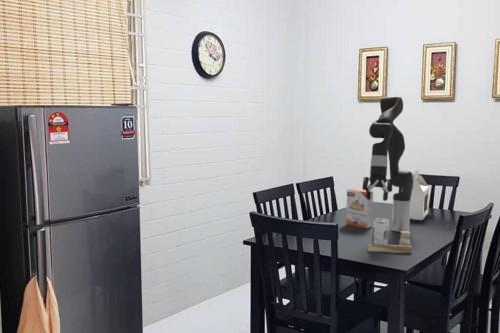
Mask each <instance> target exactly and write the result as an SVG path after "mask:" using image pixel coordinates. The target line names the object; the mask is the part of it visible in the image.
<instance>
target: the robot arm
mask: <svg viewBox="0 0 500 333" xmlns="http://www.w3.org/2000/svg"><path fill="white" fill-rule="evenodd" d="M379 103H380V104H379V106H380V111H381V112H380V113H381V114H380V116H379V118H378V119H377V120H375V121H373V122H372V123H371V124H370V127H369V129H368V130H369V131H368V132H369V135H370V137H371V138H373V139H383V140H382V141H380V142H375V143H373V144H372V147H371V148H372V150H371V158H370V168H369V169H370V170H369V177H368V176H364V177H363V178H362V179H363V180H362V189H361V190H365V191H366V198H367V200H370V198H371V192H370V191H373V190H372V189H374V188H380V189H381V190H382V191H383V194H382V201H383V202H384V201H385V202H387V200H388V199H389V193H391V192H393V187H396V188H401V190H402V191H400V192H396V193H394V194H393V195H392V218H391V219H392V220H391V223H392V224H391V230H392V231H393V232H397V233H398V232H399V233H401V231H409V232H410V223H411V222H410V221H411V219H410V200H411V194H412V183H413V175H412V174H413V173H412V172H411V171H408V170H400V168H399V167H400V166H399V163H400V160H401V158H402V156H403V154H404V152H405V149H406V144H405V137H404V134H403V133H402V131H400V129H399V128H398V127H397V126H396V125H395V124H394V121H395V120H396V119H397V118H398V117H399V116H400V115H401V114H402V113H403V109H404V101H403V99H402V97H401V96H400V95H399V96H398V95H394V96H387V97H386V96H384V97H382V98H380V101H379ZM388 162H389V177H390V178H387V173H388ZM369 182H370V183H369Z"/></svg>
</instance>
